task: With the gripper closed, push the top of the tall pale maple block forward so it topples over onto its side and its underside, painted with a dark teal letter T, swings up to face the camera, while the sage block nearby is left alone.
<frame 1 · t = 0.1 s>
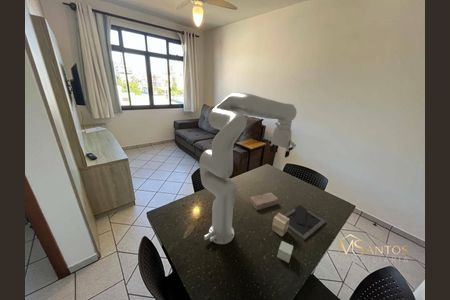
hand: (278, 154, 105), 31 cm above the table, fingers open, 9 cm apart
brick: (263, 203, 111), on the table
picture frame: (301, 222, 97), on the table
maple block: (279, 230, 91), on the table
sage block: (284, 255, 78), on the table
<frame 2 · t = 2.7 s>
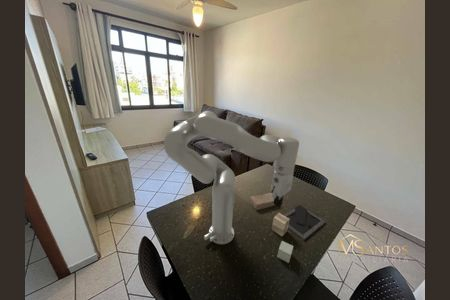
hand: (277, 204, 78), 21 cm above the table, fingers closed
nothing on the table moved.
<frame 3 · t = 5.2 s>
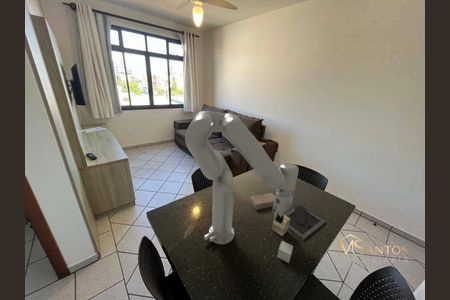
hand: (278, 221, 86), 8 cm above the table, fingers closed
maple block: (279, 230, 91), on the table, touching gripper
everything else where it was.
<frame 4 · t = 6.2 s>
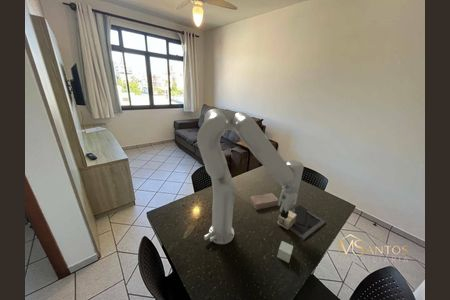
hand: (283, 216, 89), 8 cm above the table, fingers closed
picture frame: (300, 222, 98), on the table, touching maple block
maple block: (283, 222, 91), point 4 cm above the table, tilted 88°, touching picture frame
everything else where it was.
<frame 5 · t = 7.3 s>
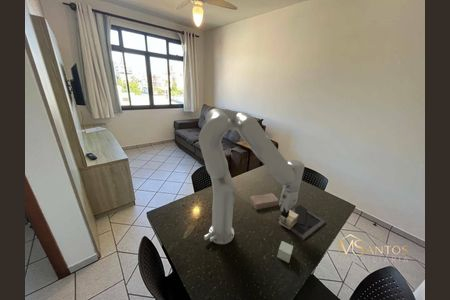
hand: (284, 216, 90), 8 cm above the table, fingers closed
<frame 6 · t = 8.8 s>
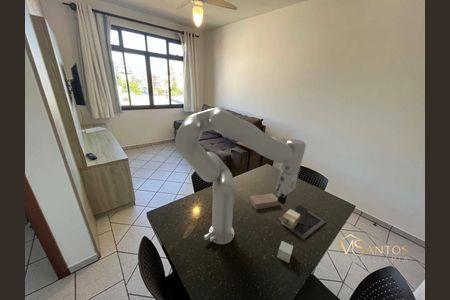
hand: (281, 202, 82), 19 cm above the table, fingers closed
maple block: (287, 222, 91), point 4 cm above the table, tilted 89°, touching picture frame
everything else where it was.
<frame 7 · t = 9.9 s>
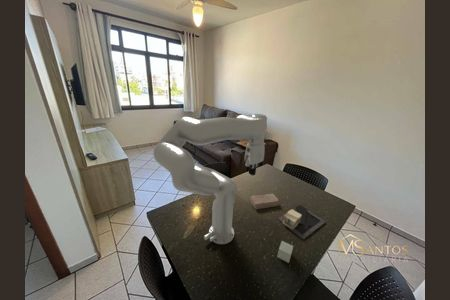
hand: (251, 174, 91), 26 cm above the table, fingers closed
nothing on the table moved.
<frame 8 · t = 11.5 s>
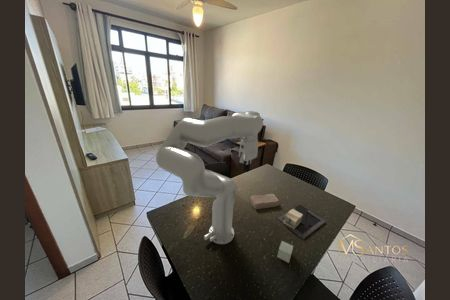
hand: (246, 170, 93), 27 cm above the table, fingers closed
at the end: maple block tilted 90°; maple block inside the target area (2.6 cm from its centre), point 3.7 cm above the table; sage block moved 0.1 cm from its start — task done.
